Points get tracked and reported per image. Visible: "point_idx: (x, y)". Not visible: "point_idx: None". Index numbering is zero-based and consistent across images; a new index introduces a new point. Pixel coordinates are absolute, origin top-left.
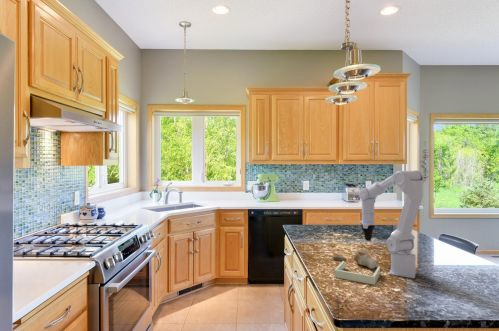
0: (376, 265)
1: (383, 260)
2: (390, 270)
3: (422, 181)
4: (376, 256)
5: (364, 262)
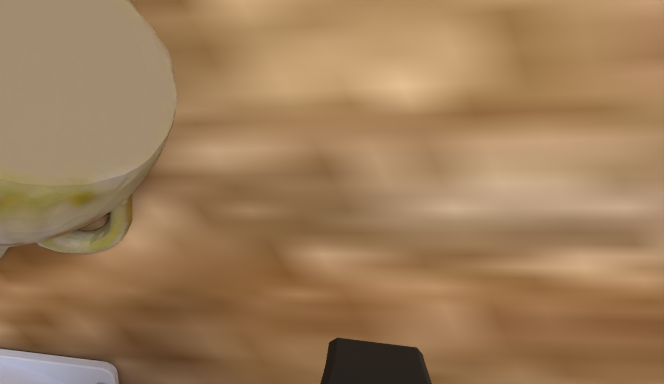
0: (44, 244)
1: (427, 299)
2: (1, 359)
3: None
4: (613, 223)
5: None
